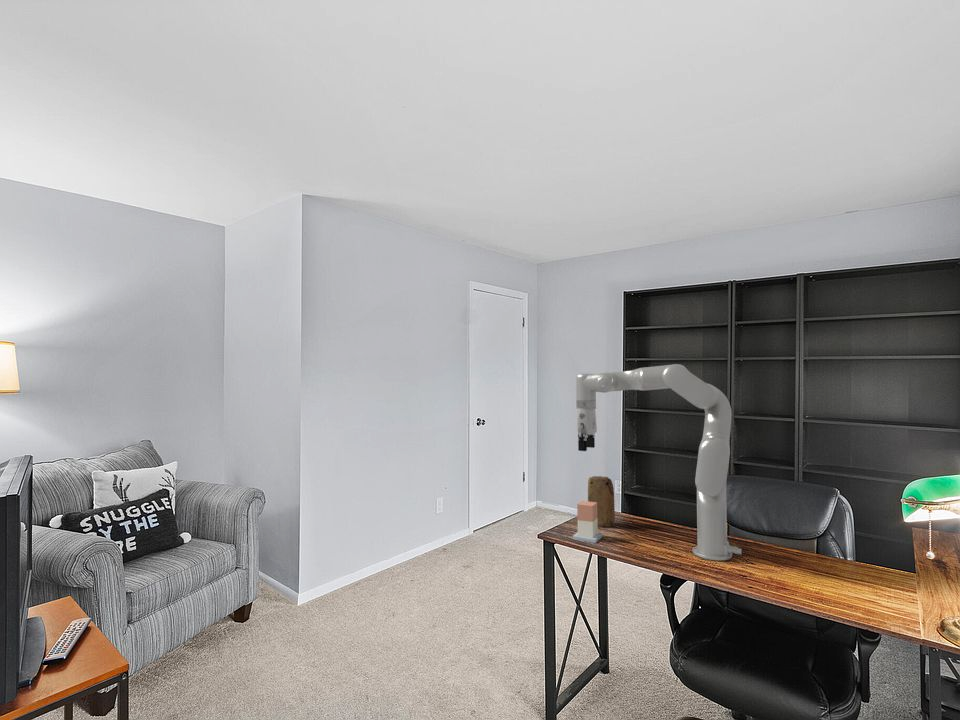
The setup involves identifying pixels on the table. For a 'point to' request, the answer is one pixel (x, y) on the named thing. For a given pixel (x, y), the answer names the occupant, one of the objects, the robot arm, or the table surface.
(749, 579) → the table surface
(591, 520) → the terracotta brick
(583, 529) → the cream brick
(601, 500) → the block
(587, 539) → the plate
